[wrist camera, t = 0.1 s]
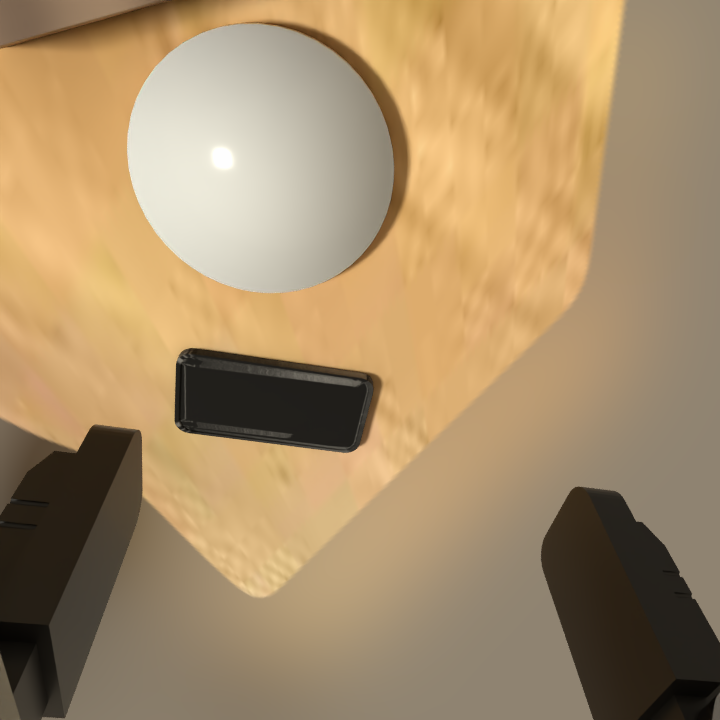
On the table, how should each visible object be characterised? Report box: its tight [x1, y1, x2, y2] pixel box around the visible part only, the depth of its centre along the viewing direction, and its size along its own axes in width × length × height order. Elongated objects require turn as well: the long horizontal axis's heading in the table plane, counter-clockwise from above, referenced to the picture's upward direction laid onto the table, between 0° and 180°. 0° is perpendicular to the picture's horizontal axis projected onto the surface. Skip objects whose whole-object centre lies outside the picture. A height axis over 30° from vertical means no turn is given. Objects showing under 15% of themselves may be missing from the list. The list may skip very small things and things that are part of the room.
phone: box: [175, 348, 373, 453], centre depth 46 cm, size 8×1×15 cm
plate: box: [127, 23, 394, 293], centre depth 36 cm, size 16×16×1 cm
